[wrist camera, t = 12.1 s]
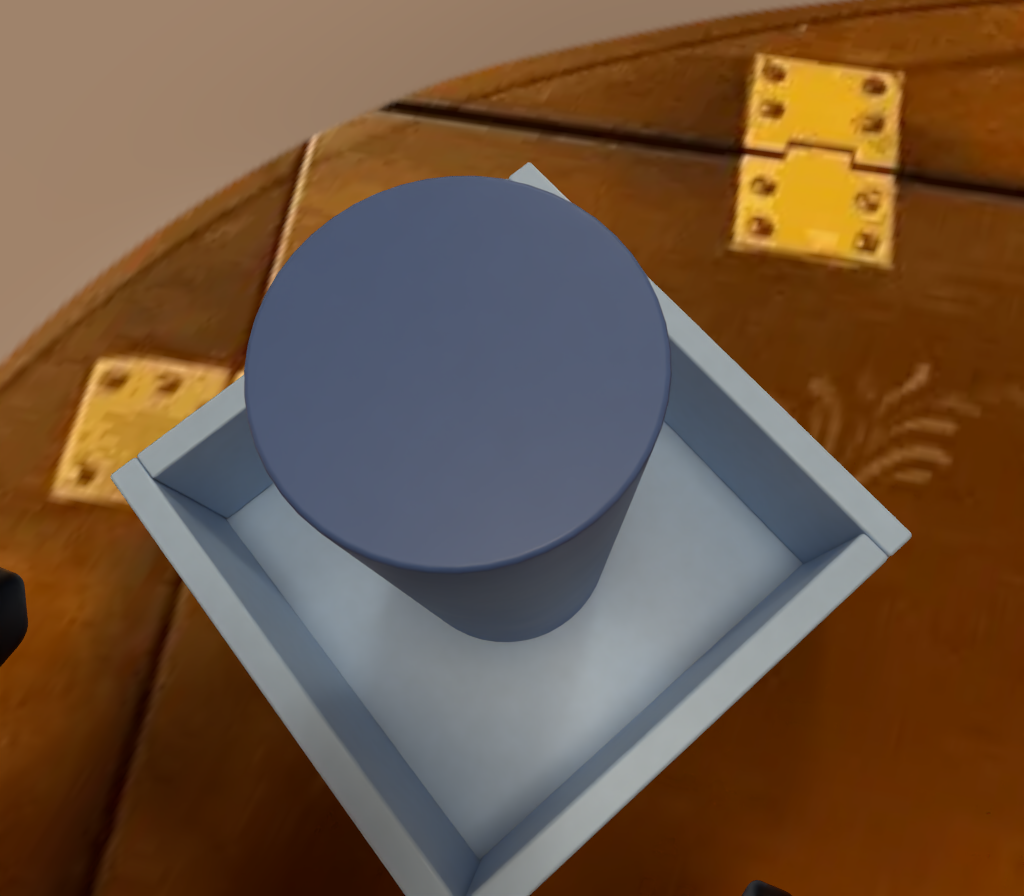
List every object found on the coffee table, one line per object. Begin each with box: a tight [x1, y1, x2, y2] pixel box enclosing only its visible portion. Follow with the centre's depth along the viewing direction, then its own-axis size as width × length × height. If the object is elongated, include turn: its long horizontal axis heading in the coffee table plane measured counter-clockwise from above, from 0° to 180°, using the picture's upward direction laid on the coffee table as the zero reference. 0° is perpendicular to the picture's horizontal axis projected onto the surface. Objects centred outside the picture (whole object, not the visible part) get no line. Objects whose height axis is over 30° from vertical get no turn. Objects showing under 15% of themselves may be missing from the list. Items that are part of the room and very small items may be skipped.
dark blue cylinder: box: [244, 176, 672, 642], centre depth 13 cm, size 4×4×10 cm
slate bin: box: [111, 163, 912, 896], centre depth 16 cm, size 10×10×4 cm
